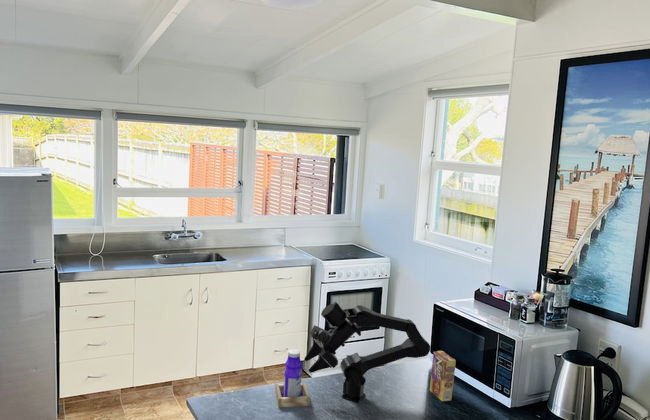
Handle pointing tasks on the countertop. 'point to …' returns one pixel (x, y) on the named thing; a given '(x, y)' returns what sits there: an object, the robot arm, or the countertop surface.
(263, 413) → the countertop surface
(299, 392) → the bottle
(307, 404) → the wooden square frame
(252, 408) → the countertop surface
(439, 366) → the candy box
